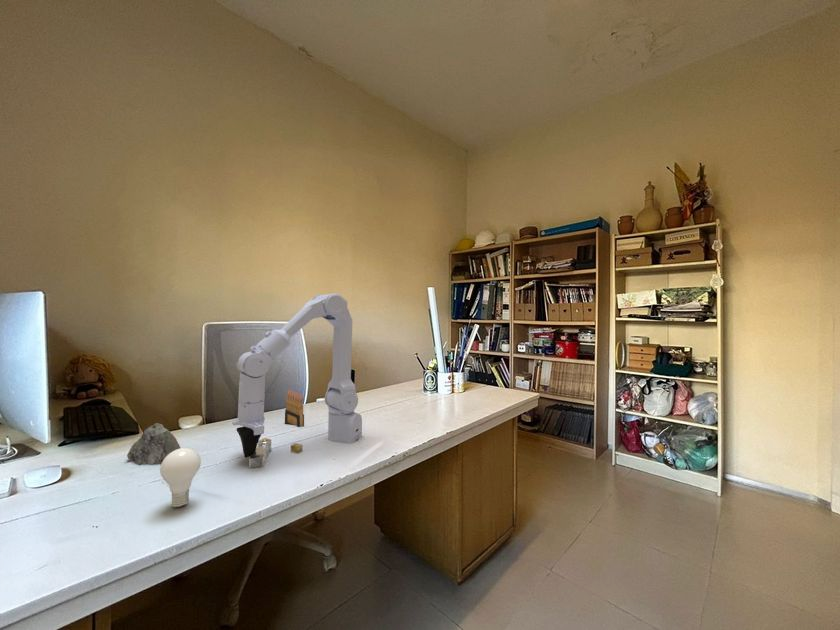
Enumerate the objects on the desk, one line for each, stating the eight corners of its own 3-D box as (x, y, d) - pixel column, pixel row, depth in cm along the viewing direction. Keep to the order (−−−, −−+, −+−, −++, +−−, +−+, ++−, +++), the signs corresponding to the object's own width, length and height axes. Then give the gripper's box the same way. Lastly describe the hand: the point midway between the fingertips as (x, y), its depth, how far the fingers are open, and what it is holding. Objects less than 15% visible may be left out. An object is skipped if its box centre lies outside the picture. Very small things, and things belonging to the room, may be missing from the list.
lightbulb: (168, 520, 59) (169, 458, 59) (153, 508, 62) (154, 450, 63) (206, 503, 64) (207, 447, 65) (190, 494, 68) (191, 440, 68)
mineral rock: (127, 458, 85) (128, 419, 85) (179, 449, 91) (180, 412, 91) (124, 478, 75) (125, 433, 75) (182, 465, 81) (183, 424, 81)
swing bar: (259, 449, 88) (259, 437, 88) (272, 448, 89) (272, 436, 89) (249, 468, 77) (249, 454, 77) (263, 466, 78) (264, 453, 78)
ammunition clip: (304, 430, 108) (304, 393, 108) (298, 431, 106) (299, 394, 107) (289, 422, 115) (290, 388, 115) (284, 424, 114) (285, 389, 114)
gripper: (226, 397, 84) (224, 451, 84) (241, 409, 73) (238, 471, 73) (256, 394, 89) (254, 444, 88) (274, 405, 78) (272, 463, 78)
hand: (249, 456), depth 81 cm, fingers closed, pressing on swing bar
